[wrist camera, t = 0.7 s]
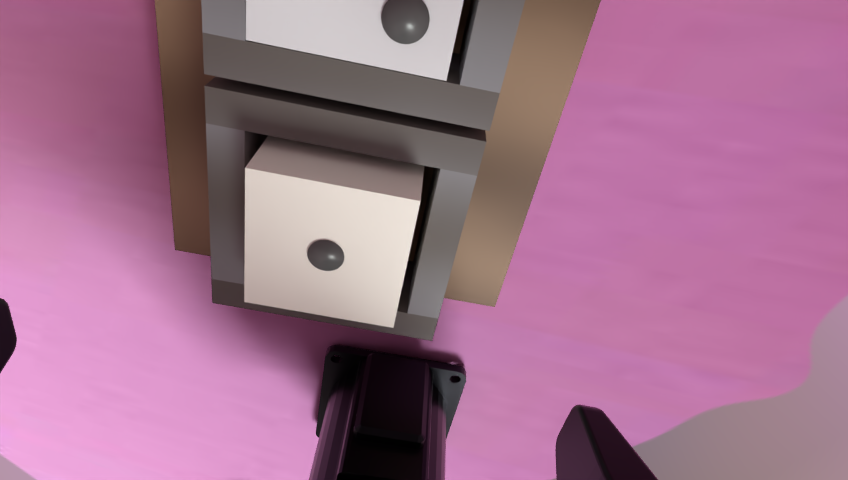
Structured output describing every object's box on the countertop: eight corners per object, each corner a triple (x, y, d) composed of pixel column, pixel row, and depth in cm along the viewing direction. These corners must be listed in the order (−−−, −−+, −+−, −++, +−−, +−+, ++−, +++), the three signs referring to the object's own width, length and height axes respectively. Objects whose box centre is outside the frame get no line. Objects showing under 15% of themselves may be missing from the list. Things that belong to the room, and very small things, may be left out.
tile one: (400, 278, 18) (393, 329, 16) (267, 254, 18) (243, 302, 16) (425, 159, 16) (420, 202, 14) (272, 129, 15) (244, 168, 13)
